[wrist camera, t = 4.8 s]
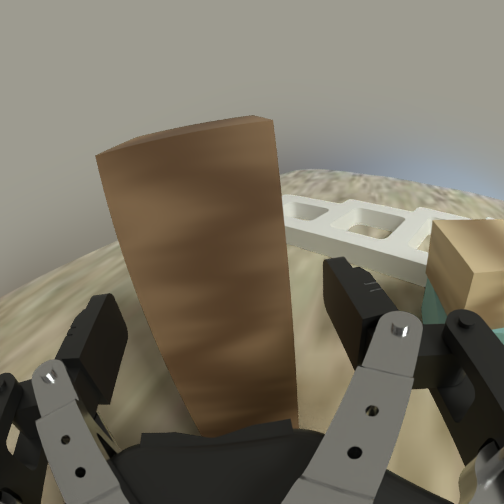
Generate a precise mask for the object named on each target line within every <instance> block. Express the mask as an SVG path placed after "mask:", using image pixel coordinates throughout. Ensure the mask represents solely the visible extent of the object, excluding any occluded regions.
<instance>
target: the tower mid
mask: <svg viewBox="0 0 504 504" xmlns="http://www.w3.org/2000/svg"><path fill="white" fill-rule="evenodd" d="M425 273H426V275H427V277H428V279H429V281H430V282H431V284H432V286H433V288H434V290H435V292H436V294H437V296H438V298H439V300H440V302H441V304H442V306H443V308H444V310H445V313H446V315H447V316H448V314H449V313H450V312H452V311H454V310H457V309H466V310H470V311H473V312H475V313H477V314H478V315H479V316H480V317H481V318H482V319H483V320H484V321H485V322H486V324H487V325H488V326H489V327H490V328H491V330H493V329H499V328H504V219H481V220H432V229H431V238H430V246H429V253H428V260H427V266H426V272H425Z"/></svg>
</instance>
